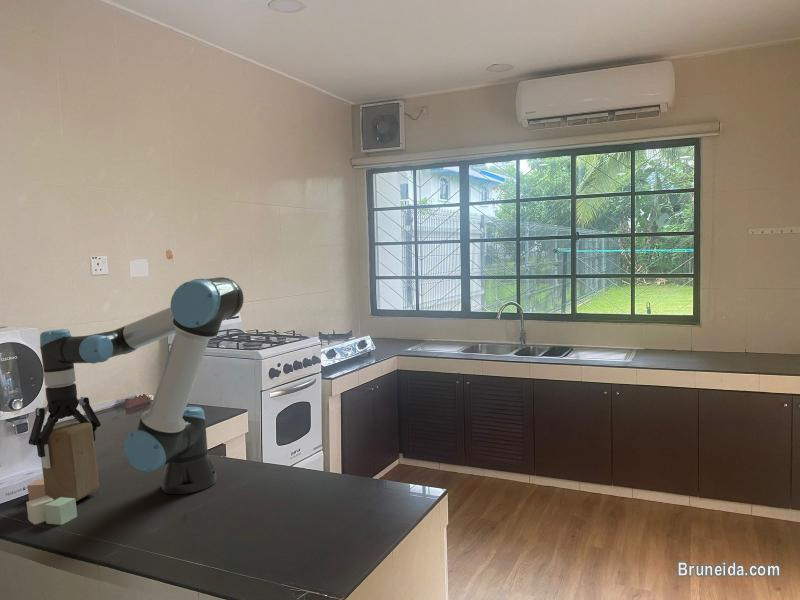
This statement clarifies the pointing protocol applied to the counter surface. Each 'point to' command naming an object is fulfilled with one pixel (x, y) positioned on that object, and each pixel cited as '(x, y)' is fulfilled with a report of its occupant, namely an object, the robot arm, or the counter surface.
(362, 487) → the counter surface
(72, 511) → the cube sage
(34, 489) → the cube tan
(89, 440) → the wooden block
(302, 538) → the counter surface
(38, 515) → the cube cream
